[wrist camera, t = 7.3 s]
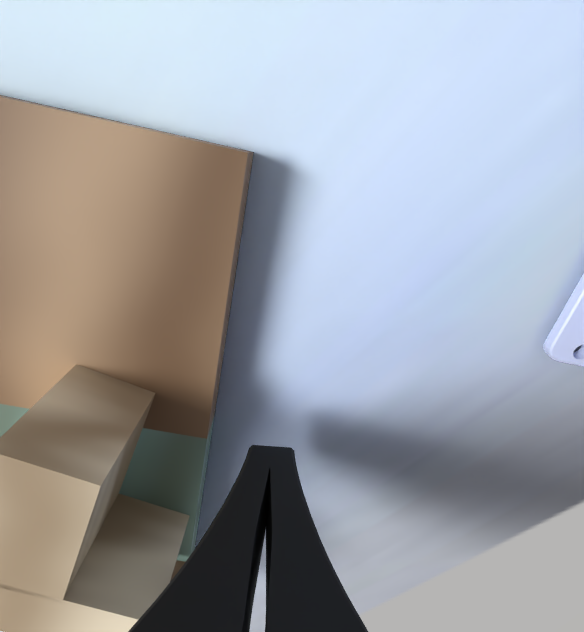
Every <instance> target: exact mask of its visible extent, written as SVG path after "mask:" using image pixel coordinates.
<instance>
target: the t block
mask: <svg viewBox="0 0 584 632" xmlns="http://www.w3.org/2000/svg"><path fill="white" fill-rule="evenodd" d="M154 396H155V393H154V392H151V391H149V390H146V389H143V388H140V387H138V386H135V385H132V384H129V383H127V382H124V381H121V380H118V379H116V378H113V377H110V376H107V375H105V374H102V373H99V372H96V371H94V370H91V369H88V368H85V367H83V366H80V365H77V364H76V365H75V366H74V367H73V368H72V369H71V370H70V371H69V372H68V373H67V374H66V375H65V376H64V377H63V378H62V379H61V380H60V381H58V382H57V383H56V384H55V385H54V386H53V387H52V388H51V389H50V390H49V391H48V392H47V393H46V394H45V395H44V396H43V397H42V398H41V399H40V400H39V401H38V402H37V403H36V404H35V405H34V406H33V407H32V408H30V409H29V410H28V411H27V412H26V413H25V414H24V415H23V416H22V417H21V418H20V419H19V420H18V421H17V422H16V423H15V424H14V425H13V426H12V427H11V428H10V429H9V430H8V431H7V432H6V433H5V434H3V435H2V436H1V437H0V631H3V632H128V631H129V630H130V629H131V628H132V627H133V625H134V624H135V623H136V622H137V621H138V620H139V618H140V617H141V616H142V615H143V614H144V613H145V612H146V610H147V609H148V608H149V607H150V606H151V605H152V604H153V602H154V601H155V600H156V599H157V598H158V597H159V595H160V594H161V593H162V592H163V590H164V589H165V588H166V587H167V585H168V584H169V583H170V580H171V577H172V573H173V570H174V567H175V563H176V560H177V557H178V553H179V550H180V546H181V543H182V540H183V536H184V533H185V530H186V526H187V523H188V520H189V515H186V514H183V513H180V512H176V511H173V510H170V509H167V508H164V507H160V506H157V505H154V504H151V503H148V502H144V501H141V500H138V499H135V498H132V497H129V496H125V495H122V494H119V491H120V489H121V486H122V483H123V481H124V478H125V475H126V472H127V470H128V467H129V464H130V461H131V459H132V456H133V453H134V450H135V448H136V445H137V442H138V440H139V437H140V434H141V431H142V429H143V426H144V423H145V420H146V418H147V415H148V412H149V410H150V407H151V404H152V401H153V399H154Z"/></svg>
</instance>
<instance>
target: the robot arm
mask: <svg viewBox="0 0 584 632" xmlns="http://www.w3.org/2000/svg"><path fill="white" fill-rule="evenodd" d="M581 345H582V346H581ZM578 346H581V348H580V349H579V350H578V351H576V352H574V350H575V349H576V348H577V347H578ZM544 351H545V352H546V354H547V355H548V356H550V357H551V358H552V359H553V360H555V361H558V362H562V363H567V364H573V365H578V366H583V367H584V274H583V275H582V277H581V279H580V281H579V282H578V284H577V286H576V288H575V289H574V291H573V293H572V295H571V296H570V298H569V300H568V302H567V303H566V305H565V307H564V309H563V311H562V312H561V314H560V316H559V318H558V319H557V321H556V323H555V325H554V326H553V328H552V330H551V332H550V333H549V335H548V337H547V339H546V340H545V343H544ZM265 530H266V627H265V632H368V631H367V629H366V627H365V625H364V624H363V622H362V620H361V618H360V617H359V615H358V613H357V611H356V610H355V608H354V606H353V604H352V603H351V601H350V599H349V597H348V596H347V594H346V592H345V590H344V588H343V586H342V584H341V582H340V580H339V578H338V576H337V574H336V572H335V570H334V568H333V566H332V564H331V562H330V560H329V558H328V556H327V553H326V551H325V549H324V547H323V544H322V542H321V540H320V537H319V535H318V532H317V530H316V527H315V525H314V522H313V520H312V517H311V514H310V511H309V508H308V505H307V502H306V500H305V497H304V494H303V490H302V487H301V483H300V479H299V476H298V471H297V467H296V462H295V454H294V450H293V449H292V448H287V447H272V446H258V445H253V446H251V447H250V448H249V450H248V454H247V457H246V459H245V462H244V464H243V467H242V469H241V471H240V473H239V475H238V477H237V480H236V482H235V483H234V485H233V487H232V489H231V491H230V493H229V495H228V497H227V498H226V500H225V502H224V504H223V506H222V507H221V509H220V511H219V512H218V514H217V516H216V517H215V519H214V520H213V522H212V524H211V525H210V527H209V529H208V530H207V532H206V533H205V535H204V536H203V538H202V539H201V541H200V542H199V544H198V545H197V547H196V548H195V549H194V551H193V552H192V554H191V555H190V556H189V558H188V559H187V561H186V562H185V563H184V565H183V566H182V567H181V569H180V570H179V571H178V572H177V574H176V575H175V576H174V578H173V579H172V580H171V582H170V583H169V584H168V585H167V587H166V588H165V589H164V590H163V592H162V593H161V594H160V595H159V597H158V598H157V599H156V600H155V601H154V602H153V604H152V605H151V606H150V607H149V608H148V609H147V610H146V612H145V613H144V614H143V615H142V616H141V617H140V618H139V620H138V621H137V622H136V623H135V624H134V625H133V627H132V628H131V629H130V630H129V631H128V632H249V629H250V620H251V613H252V606H253V600H254V594H255V588H256V582H257V577H258V571H259V565H260V559H261V553H262V547H263V541H264V536H265Z"/></svg>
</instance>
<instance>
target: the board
mask: <svg viewBox="0 0 584 632" xmlns="http://www.w3.org/2000/svg"><path fill="white" fill-rule="evenodd" d="M253 153H254V152H250V151H246V150H242V149H237V148H233V147H228V146H224V145H219V144H215V143H211V142H206V141H202V140H197V139H193V138H188V137H184V136H180V135H175V134H171V133H166V132H162V131H157V130H153V129H149V128H144V127H140V126H135V125H131V124H127V123H122V122H118V121H113V120H109V119H104V118H100V117H96V116H91V115H87V114H82V113H78V112H73V111H69V110H65V109H60V108H56V107H51V106H47V105H42V104H38V103H34V102H29V101H25V100H20V99H16V98H11V97H7V96H3V95H0V437H1V436H2V435H3V434H5V433H6V432H7V431H8V430H9V429H10V428H11V427H12V426H13V425H14V424H15V423H16V422H17V421H18V420H19V419H20V418H21V417H22V416H23V415H24V414H25V413H26V412H27V411H28V410H29V409H30V408H32V407H33V406H34V405H35V404H36V403H37V402H38V401H39V400H40V399H41V398H42V397H43V396H44V395H45V394H46V393H47V392H48V391H49V390H50V389H51V388H52V387H53V386H54V385H55V384H56V383H57V382H58V381H60V380H61V379H62V378H63V377H64V376H65V375H66V374H67V373H68V372H69V371H70V370H71V369H72V368H73V367H74V366H75V365H76V364H77V365H80V366H83V367H85V368H88V369H91V370H94V371H96V372H99V373H102V374H105V375H107V376H110V377H113V378H116V379H118V380H121V381H124V382H127V383H129V384H132V385H135V386H138V387H140V388H143V389H146V390H149V391H151V392H154V393H155V396H154V399H153V401H152V404H151V407H150V410H149V412H148V415H147V418H146V420H145V423H144V426H143V429H142V431H141V434H140V437H139V440H138V442H137V445H136V448H135V450H134V453H133V456H132V459H131V461H130V464H129V467H128V470H127V472H126V475H125V478H124V481H123V483H122V486H121V489H120V491H119V494H122V495H125V496H129V497H132V498H135V499H138V500H141V501H144V502H148V503H151V504H154V505H157V506H160V507H164V508H167V509H170V510H173V511H176V512H180V513H183V514H186V515H189V520H188V523H187V526H186V530H185V533H184V536H183V540H182V543H181V546H180V550H179V553H178V557H177V560H176V563H175V567H174V570H173V573H172V577H171V580H172V579H173V578H174V576H175V575H176V574H177V572H178V571H179V570H180V569H181V567H182V566H183V565H184V563H185V562H186V561H187V559H188V558H189V556H190V555H191V554H192V552H193V551H194V549H195V543H196V536H197V529H198V523H199V516H200V509H201V503H202V496H203V489H204V482H205V476H206V469H207V462H208V455H209V449H210V442H211V435H212V429H213V422H214V415H215V408H216V402H217V395H218V388H219V382H220V375H221V368H222V361H223V355H224V348H225V341H226V335H227V328H228V321H229V314H230V308H231V301H232V294H233V288H234V281H235V274H236V267H237V261H238V254H239V247H240V241H241V234H242V227H243V220H244V214H245V207H246V200H247V194H248V187H249V180H250V173H251V167H252V160H253ZM171 580H170V582H171Z"/></svg>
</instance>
